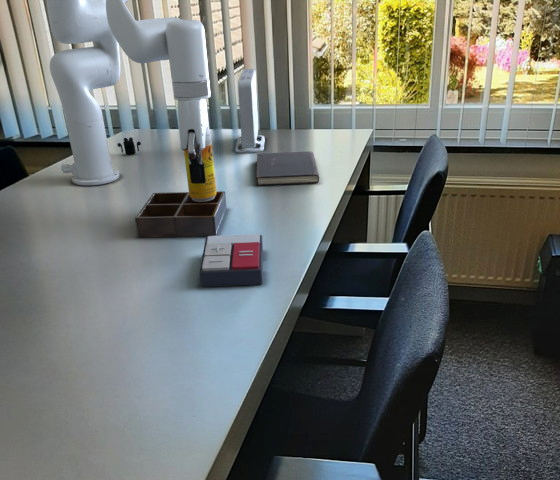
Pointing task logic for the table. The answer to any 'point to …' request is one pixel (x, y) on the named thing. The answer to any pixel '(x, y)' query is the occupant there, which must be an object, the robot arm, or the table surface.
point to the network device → (248, 113)
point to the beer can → (208, 188)
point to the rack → (180, 216)
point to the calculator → (232, 260)
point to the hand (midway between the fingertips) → (201, 177)
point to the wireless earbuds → (129, 146)
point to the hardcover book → (286, 168)
